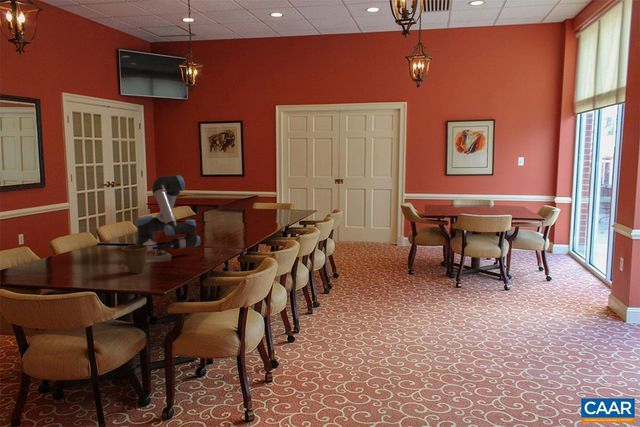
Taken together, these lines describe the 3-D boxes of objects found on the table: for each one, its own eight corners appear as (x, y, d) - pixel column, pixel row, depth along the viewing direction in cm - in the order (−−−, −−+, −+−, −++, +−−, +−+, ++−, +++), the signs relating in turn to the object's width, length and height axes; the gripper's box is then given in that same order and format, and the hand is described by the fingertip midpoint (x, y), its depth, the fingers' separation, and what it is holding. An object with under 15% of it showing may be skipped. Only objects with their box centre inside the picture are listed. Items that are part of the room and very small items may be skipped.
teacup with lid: (142, 258, 331) (141, 241, 329) (144, 255, 340) (143, 238, 338) (161, 257, 333) (160, 240, 331) (162, 254, 342) (161, 237, 340)
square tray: (134, 260, 338) (134, 254, 338) (163, 256, 350) (163, 250, 349) (141, 264, 325) (141, 258, 324) (171, 260, 336) (171, 254, 335)
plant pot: (140, 268, 316) (139, 243, 314) (153, 271, 307) (152, 246, 305) (119, 272, 305) (117, 247, 303) (131, 276, 295) (130, 250, 293)
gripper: (183, 251, 338) (150, 255, 325) (173, 246, 355) (141, 250, 343) (183, 240, 337) (149, 244, 324) (172, 235, 354) (140, 239, 341)
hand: (145, 247), depth 333 cm, fingers closed on teacup with lid, 9 cm apart
